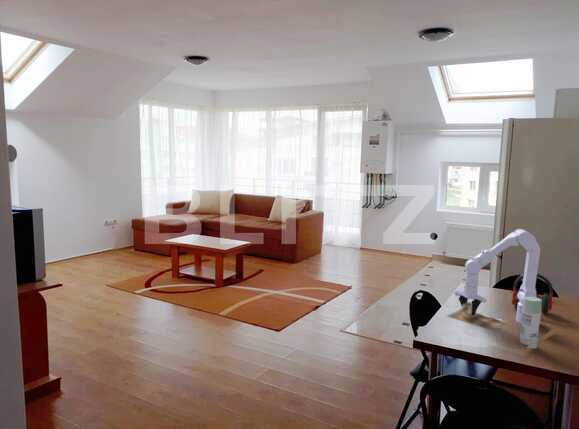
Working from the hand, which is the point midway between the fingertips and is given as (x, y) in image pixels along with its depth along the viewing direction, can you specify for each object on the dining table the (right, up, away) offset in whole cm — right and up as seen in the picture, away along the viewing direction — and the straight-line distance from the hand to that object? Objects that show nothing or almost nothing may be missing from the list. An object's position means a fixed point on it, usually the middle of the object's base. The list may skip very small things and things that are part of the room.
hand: (468, 313), depth 212 cm
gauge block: (0, -1, 0) cm, 1 cm away
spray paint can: (+13, -7, -28) cm, 32 cm away
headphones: (+37, -2, +14) cm, 39 cm away
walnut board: (+3, -3, -3) cm, 5 cm away
